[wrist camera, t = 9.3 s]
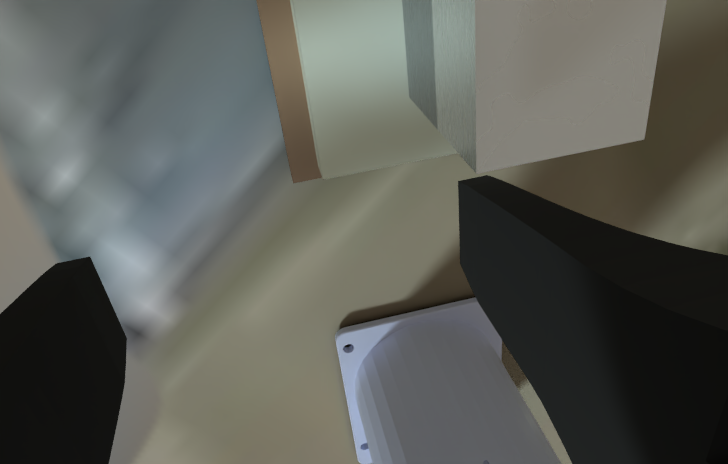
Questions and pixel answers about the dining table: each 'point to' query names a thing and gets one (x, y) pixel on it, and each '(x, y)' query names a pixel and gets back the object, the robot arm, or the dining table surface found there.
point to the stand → (344, 87)
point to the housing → (532, 74)
